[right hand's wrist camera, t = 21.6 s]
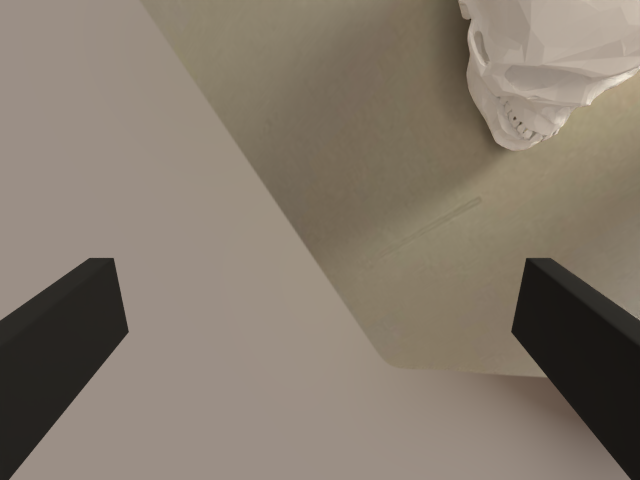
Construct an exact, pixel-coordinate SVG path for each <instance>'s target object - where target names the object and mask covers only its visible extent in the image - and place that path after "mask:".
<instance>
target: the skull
mask: <svg viewBox="0 0 640 480" xmlns="http://www.w3.org/2000/svg"><path fill="white" fill-rule="evenodd" d="M458 2H459V6H460V9H461V14H462V17H463V18H464V19H467V20H469V19H471V23H470V27H469V30H468V39H467V40H468V46H469V51H470V58H469V63H468V68H467V72H466V75H467V82H468V88H469V92H470V94H471V96H472V99H473V101H474V103H475V104H476V106H477V108H478V109H479V111H480V112H481V114H482V116H483V117H484V119H485V121H486V122H487V125H488V127H489V129H490V131H491V133H492V136H493V138H494V140H495V141H496V143H498V144H499V145H501V146H503V147H505V148H507V149H510V150H512V151H518V150H525V149H528V148H530V147H532V146H533V145H535V144H537V143H538V142H539V141H540V140H541V139H542V138H543V139H542V140H541V142H542V141H544V140H546V139H548V138H550V137H551V136H552V135H556V134H557V133H558V131H559V128H560V127H562V126H563V125H564V123H565V122H566V121H567V119H568V117H569V115H570V114H571V112H572V111H573V110H574V109H576V108H577V107H583V106H589V105H590V104H591V102H592V101H593V99H595V98H596V97H597V96H598V95H600V94H601V93H602V92H604V91H606V90H608V89H611V88H613V87H615V86H617V85H619V84H621V83H622V82H624V81H626V80H627V79H629V78H630V77H632V76H634V75H635V74H636V73H637V72H638V70H639V69H640V0H458ZM514 117H516V119H515V120H514ZM520 122H522V124H521V125H519V124H520ZM526 128H527V129H528V130H526V131H525V132H523V131H524V130H525V129H526Z"/></svg>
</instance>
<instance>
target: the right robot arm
mask: <svg viewBox="0 0 640 480" xmlns="http://www.w3.org/2000/svg"><path fill="white" fill-rule="evenodd" d="M128 332H129V331H128V326H127V321H126V316H125V311H124V307H123V302H122V297H121V292H120V287H119V282H118V277H117V272H116V267H115V262H114V258H89V259H87V260H86V261H85V262H83V263H82V264H80V265H79V266H78V267H76V268H75V269H73V270H72V271H70V272H69V273H68V274H66V275H65V276H63V277H62V278H60V279H59V280H58V281H56V282H55V283H53V284H52V285H51V286H49V287H48V288H46V289H45V290H43V291H42V292H40V293H39V294H38V295H36V296H35V297H33V298H32V299H30V300H29V301H28V302H26V303H25V304H23V305H22V306H21V307H19V308H18V309H16V310H15V311H13V312H12V313H11V314H9V315H8V316H6V317H5V318H3V319H2V320H1V321H0V480H9V479H10V478H11V476H12V475H13V474H14V473H15V472H16V470H17V469H18V468H19V467H20V465H21V464H22V463H23V462H24V460H25V459H26V458H27V457H28V456H29V454H30V453H31V452H32V451H33V449H34V448H35V447H36V446H37V444H38V443H39V442H40V441H41V439H42V438H43V437H44V436H45V435H46V433H47V432H48V431H49V430H50V428H51V427H52V426H53V425H54V423H55V422H56V421H57V420H58V419H59V417H60V416H61V415H62V414H63V412H64V411H65V410H66V409H67V407H68V406H69V405H70V404H71V403H72V401H73V400H74V399H75V398H76V396H77V395H78V394H79V393H80V391H81V390H82V389H83V388H84V386H85V385H86V384H87V383H88V381H89V380H90V379H91V378H92V377H93V375H94V374H95V373H96V372H97V370H98V369H99V368H100V367H101V366H102V364H103V363H104V362H105V361H106V359H107V358H108V357H109V356H110V354H111V353H112V352H113V351H114V350H115V348H116V347H117V346H118V345H119V343H120V342H121V341H122V340H123V338H124V337H125V336H126V335H127V333H128ZM511 332H512V333H513V335H514V336H515V337H516V338H517V340H518V341H519V342H520V343H521V345H522V346H523V347H524V348H525V350H526V351H527V352H528V353H529V354H530V356H531V357H532V358H533V359H534V361H535V362H536V363H537V364H538V366H539V367H540V368H541V369H542V370H543V372H544V373H545V374H546V375H547V377H548V378H549V379H550V380H551V382H552V383H553V384H554V385H555V386H556V388H557V389H558V390H559V391H560V393H561V394H562V395H563V396H564V397H565V399H566V400H567V401H568V403H569V404H570V405H571V406H572V407H573V409H574V410H575V411H576V412H577V414H578V415H579V416H580V417H581V419H582V420H583V421H584V422H585V423H586V425H587V426H588V427H589V428H590V430H591V431H592V432H593V433H594V435H595V436H596V437H597V438H598V439H599V441H600V442H601V443H602V444H603V446H604V447H605V448H606V449H607V451H608V452H609V453H610V454H611V456H612V457H613V458H614V459H615V460H616V462H617V463H618V464H619V465H620V467H621V468H622V469H623V470H624V472H625V473H626V474H627V475H628V476H629V478H630V479H631V480H640V321H639V320H638V319H637V318H635V317H634V316H632V315H631V314H629V313H628V312H627V311H625V310H624V309H622V308H621V307H619V306H618V305H617V304H615V303H614V302H612V301H611V300H610V299H608V298H607V297H605V296H604V295H602V294H601V293H600V292H598V291H597V290H595V289H594V288H592V287H591V286H590V285H588V284H587V283H585V282H584V281H582V280H581V279H580V278H578V277H577V276H575V275H574V274H572V273H571V272H570V271H568V270H567V269H565V268H564V267H563V266H561V265H560V264H558V263H557V262H555V261H554V260H553V259H551V258H526V262H525V267H524V272H523V277H522V282H521V287H520V292H519V297H518V302H517V306H516V311H515V316H514V321H513V326H512V331H511Z"/></svg>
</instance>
